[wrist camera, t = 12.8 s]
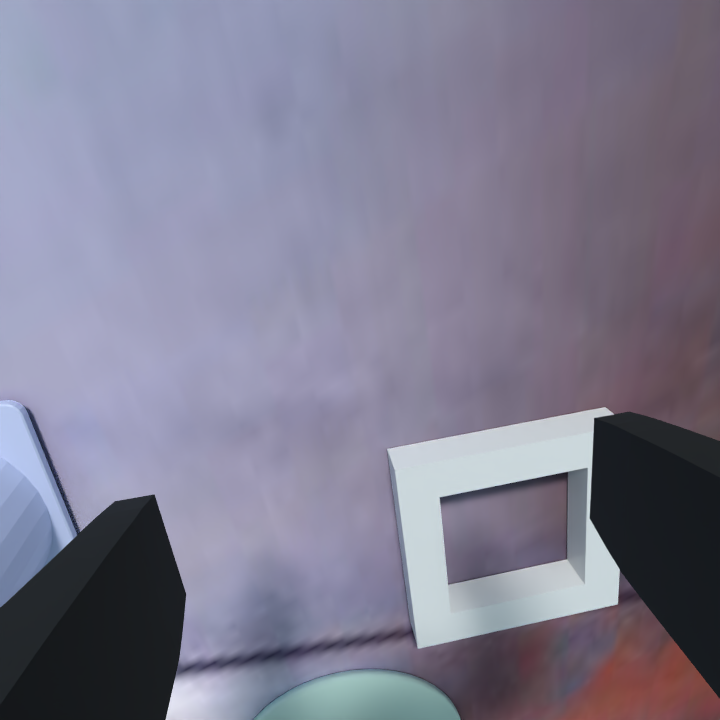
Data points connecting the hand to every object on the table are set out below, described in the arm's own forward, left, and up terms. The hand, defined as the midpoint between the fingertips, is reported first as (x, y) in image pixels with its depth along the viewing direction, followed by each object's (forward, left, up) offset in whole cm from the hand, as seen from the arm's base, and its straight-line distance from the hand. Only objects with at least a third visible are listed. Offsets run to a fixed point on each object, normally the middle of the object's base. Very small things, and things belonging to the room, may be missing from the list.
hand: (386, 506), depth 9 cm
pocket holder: (+6, -10, -10) cm, 15 cm away
